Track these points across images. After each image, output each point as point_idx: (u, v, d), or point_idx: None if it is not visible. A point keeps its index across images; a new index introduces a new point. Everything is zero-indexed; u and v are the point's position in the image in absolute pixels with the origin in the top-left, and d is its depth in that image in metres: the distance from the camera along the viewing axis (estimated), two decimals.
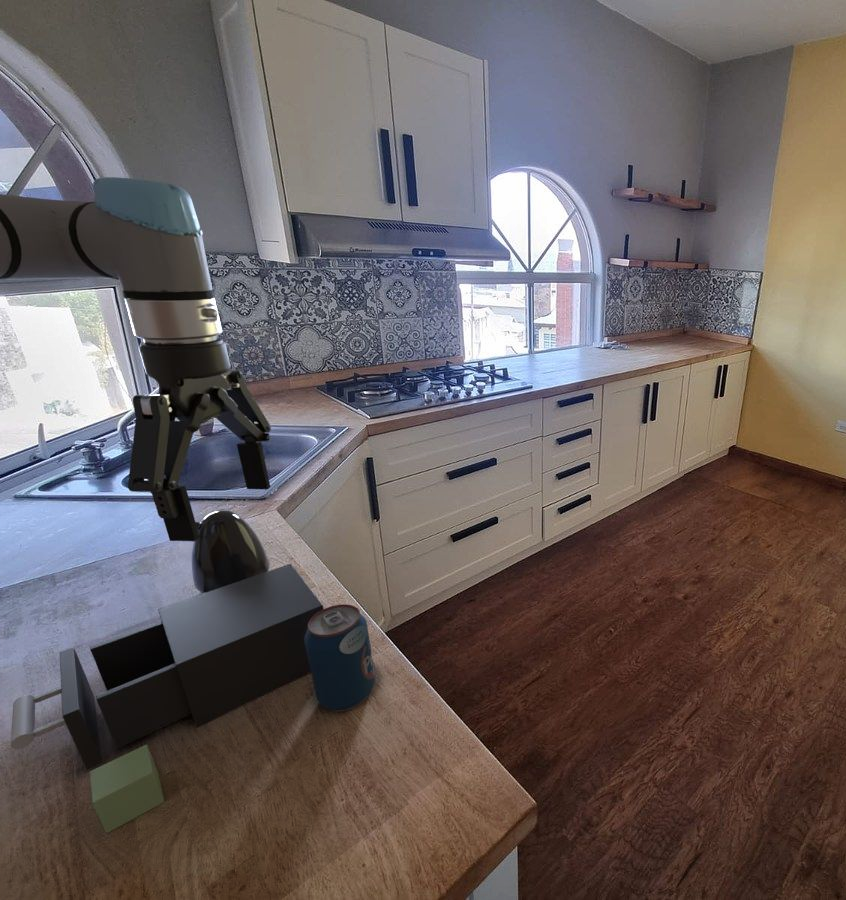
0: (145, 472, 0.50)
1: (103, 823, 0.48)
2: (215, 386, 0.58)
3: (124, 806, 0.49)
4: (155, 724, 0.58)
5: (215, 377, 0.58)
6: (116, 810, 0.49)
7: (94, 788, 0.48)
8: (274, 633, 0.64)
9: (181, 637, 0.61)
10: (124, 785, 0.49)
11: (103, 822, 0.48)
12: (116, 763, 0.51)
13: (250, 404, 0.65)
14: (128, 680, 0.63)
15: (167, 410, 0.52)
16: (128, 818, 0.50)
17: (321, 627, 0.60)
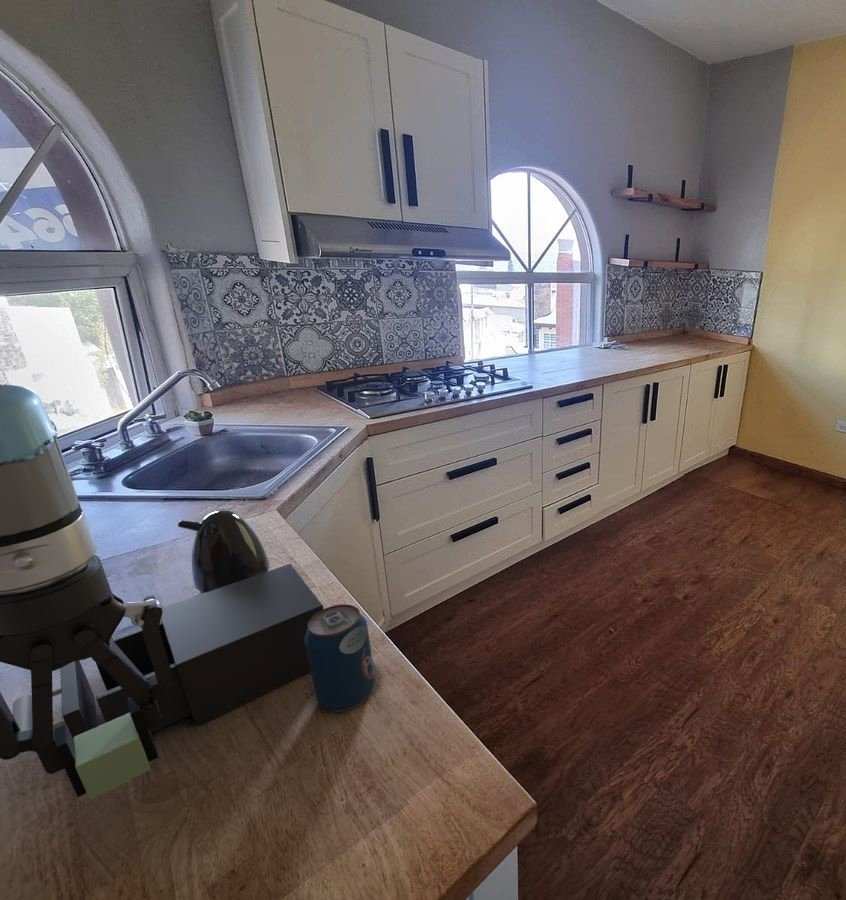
0: None
1: (86, 789, 0.47)
2: (84, 624, 0.44)
3: (108, 772, 0.48)
4: None
5: (89, 612, 0.44)
6: (100, 776, 0.47)
7: (77, 753, 0.47)
8: (274, 633, 0.64)
9: (181, 637, 0.61)
10: (108, 751, 0.47)
11: (86, 788, 0.47)
12: (101, 729, 0.49)
13: (148, 650, 0.48)
14: None
15: None
16: (112, 785, 0.48)
17: (321, 627, 0.60)
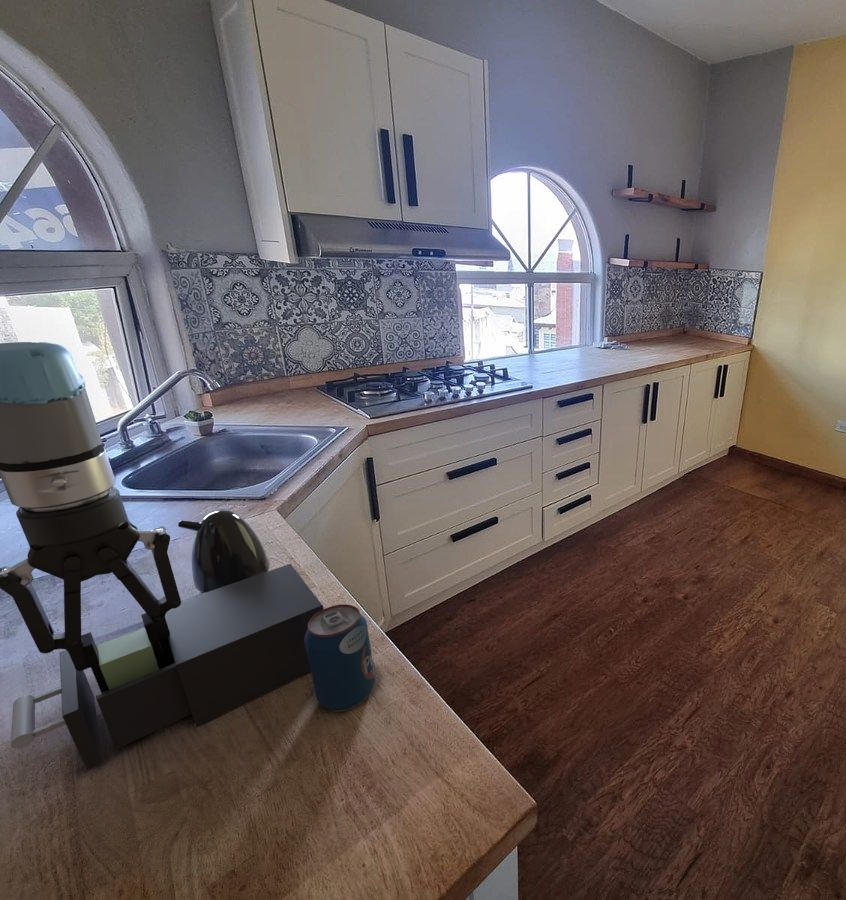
0: None
1: (108, 685, 0.56)
2: (106, 543, 0.54)
3: (126, 673, 0.57)
4: (155, 724, 0.58)
5: (110, 533, 0.54)
6: (119, 675, 0.57)
7: (101, 656, 0.56)
8: (274, 633, 0.64)
9: (181, 637, 0.61)
10: (126, 654, 0.57)
11: (108, 684, 0.56)
12: (119, 639, 0.59)
13: (158, 571, 0.58)
14: None
15: (19, 585, 0.50)
16: None
17: (321, 627, 0.60)
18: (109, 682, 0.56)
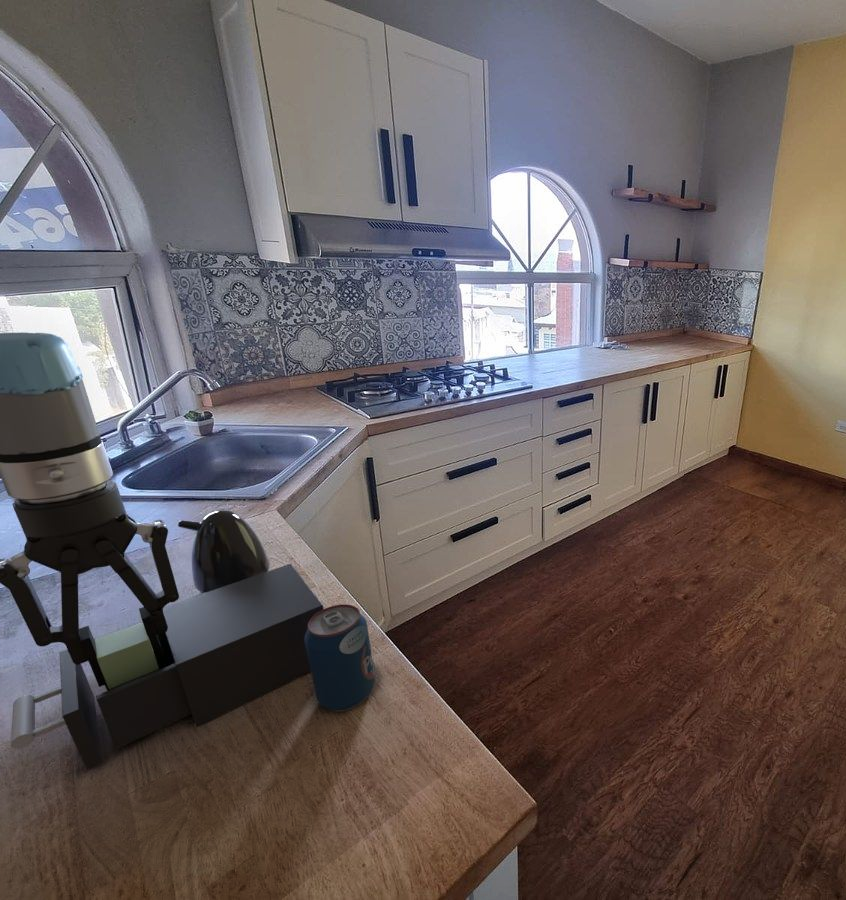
0: None
1: (106, 679, 0.56)
2: (104, 536, 0.53)
3: (124, 667, 0.57)
4: (155, 724, 0.58)
5: (108, 526, 0.53)
6: (117, 669, 0.56)
7: (98, 649, 0.56)
8: (274, 633, 0.64)
9: (181, 637, 0.61)
10: (124, 648, 0.57)
11: (106, 678, 0.56)
12: (117, 633, 0.59)
13: (156, 564, 0.57)
14: None
15: (16, 577, 0.49)
16: (127, 678, 0.57)
17: (321, 627, 0.60)
18: (107, 676, 0.56)
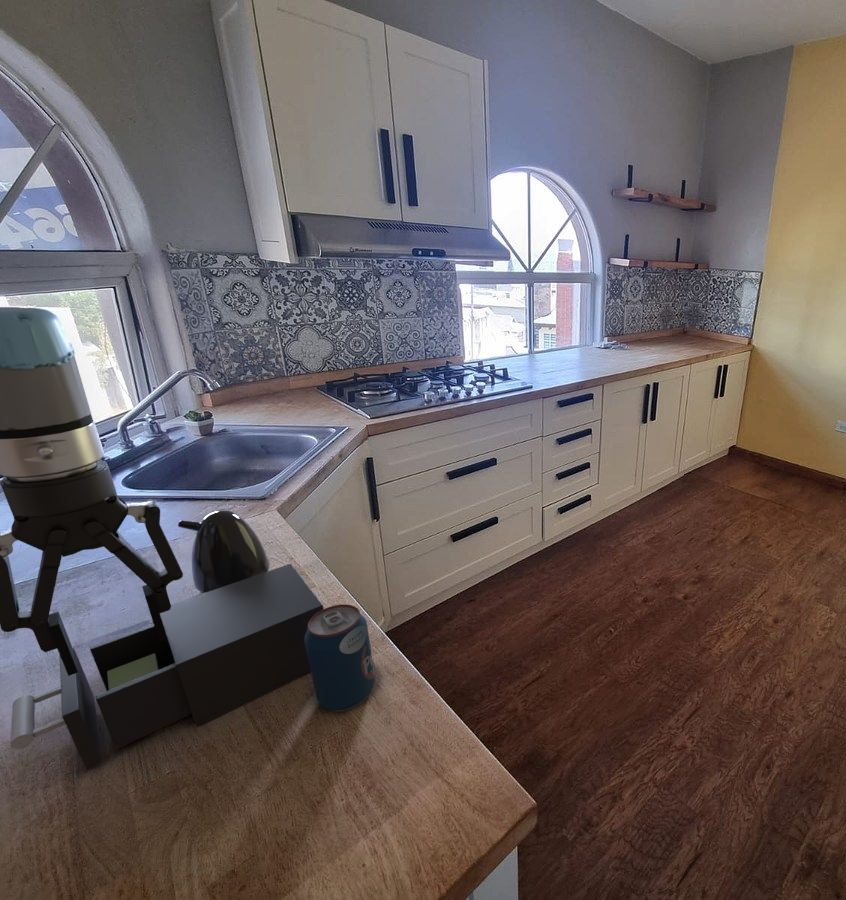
0: None
1: None
2: (93, 517, 0.52)
3: None
4: (155, 724, 0.58)
5: (98, 507, 0.52)
6: None
7: (110, 682, 0.58)
8: (274, 633, 0.64)
9: (181, 637, 0.61)
10: None
11: None
12: (129, 666, 0.60)
13: (154, 544, 0.57)
14: None
15: None
16: None
17: (321, 627, 0.60)
18: None
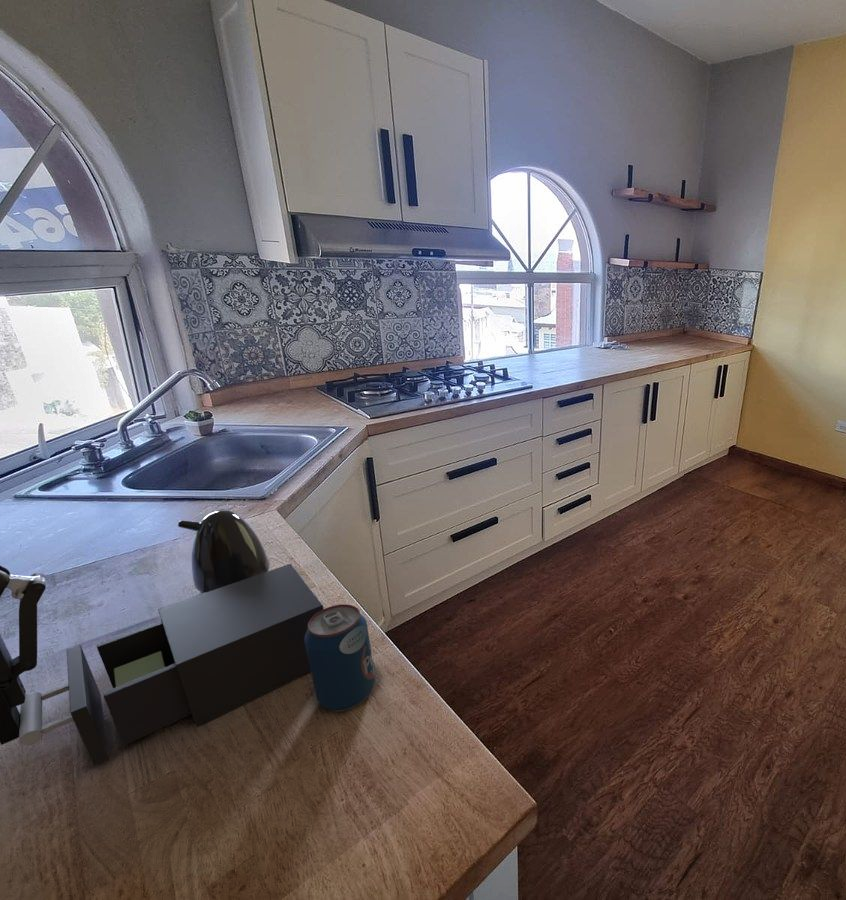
0: None
1: None
2: None
3: None
4: (161, 721, 0.58)
5: None
6: None
7: (117, 680, 0.58)
8: (274, 633, 0.64)
9: (181, 637, 0.61)
10: None
11: None
12: (135, 663, 0.61)
13: (19, 625, 0.50)
14: None
15: None
16: None
17: (321, 627, 0.60)
18: None
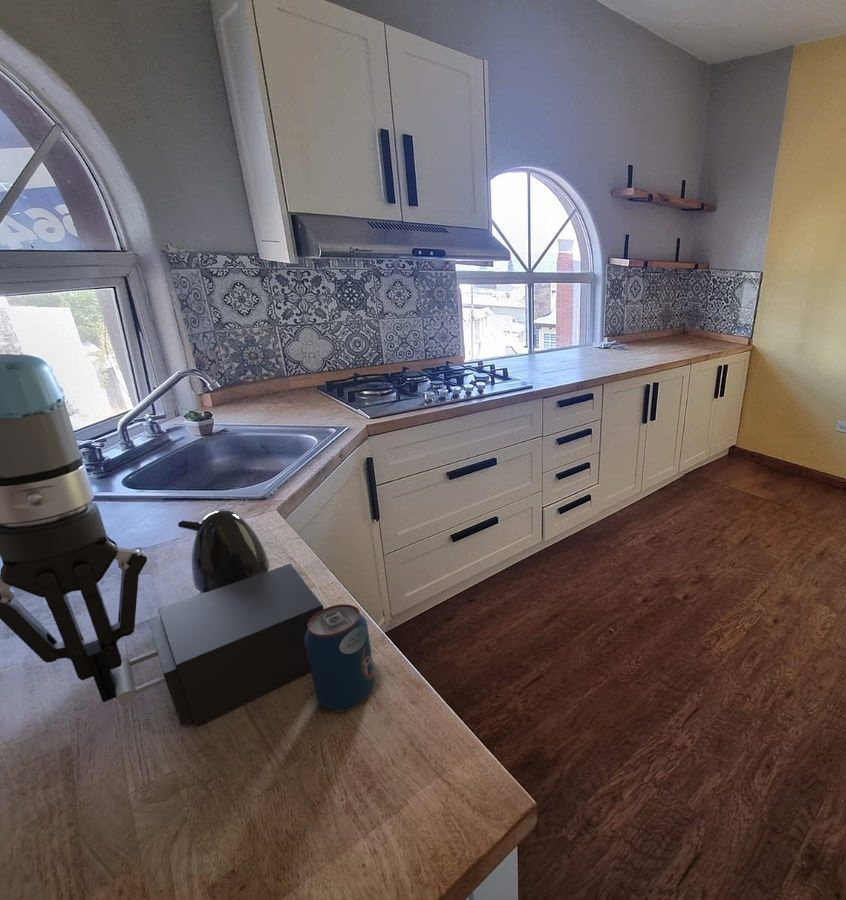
0: None
1: None
2: (83, 559, 0.53)
3: None
4: None
5: (87, 549, 0.53)
6: None
7: None
8: (274, 633, 0.64)
9: (181, 637, 0.61)
10: None
11: None
12: None
13: (123, 593, 0.56)
14: None
15: (0, 603, 0.49)
16: None
17: (321, 627, 0.60)
18: None
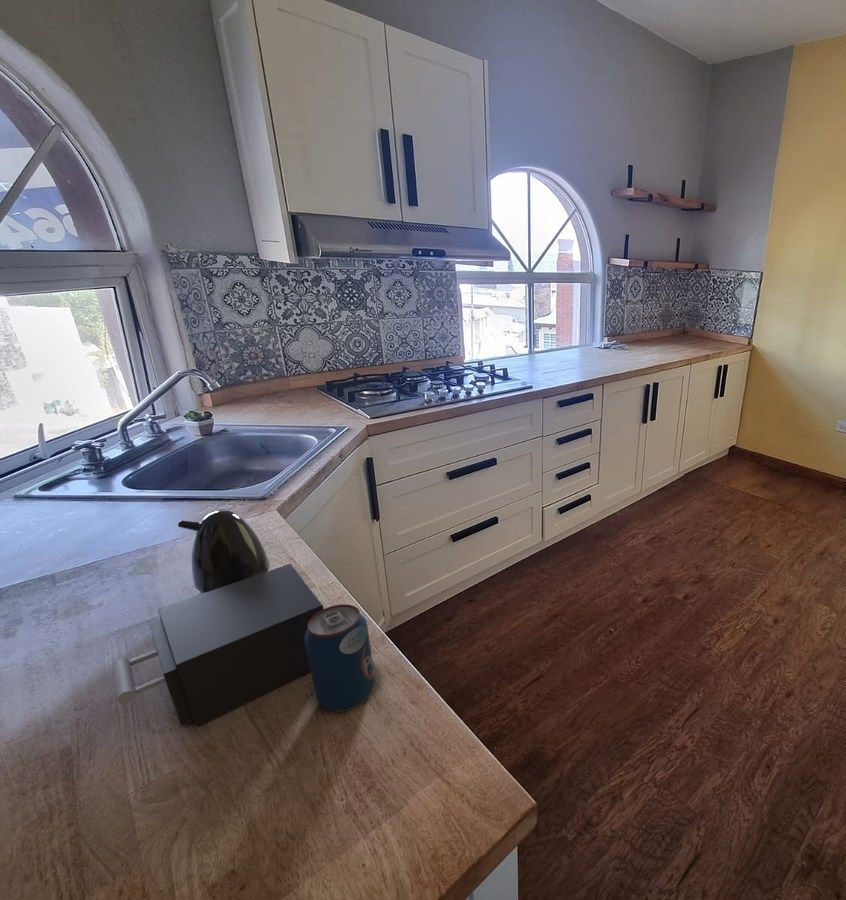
0: None
1: None
2: None
3: None
4: None
5: None
6: None
7: None
8: (274, 633, 0.64)
9: (181, 637, 0.61)
10: None
11: None
12: None
13: None
14: None
15: None
16: None
17: (321, 627, 0.60)
18: None
